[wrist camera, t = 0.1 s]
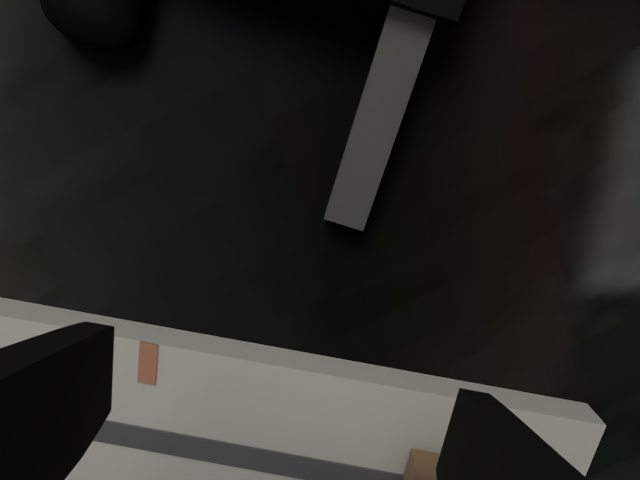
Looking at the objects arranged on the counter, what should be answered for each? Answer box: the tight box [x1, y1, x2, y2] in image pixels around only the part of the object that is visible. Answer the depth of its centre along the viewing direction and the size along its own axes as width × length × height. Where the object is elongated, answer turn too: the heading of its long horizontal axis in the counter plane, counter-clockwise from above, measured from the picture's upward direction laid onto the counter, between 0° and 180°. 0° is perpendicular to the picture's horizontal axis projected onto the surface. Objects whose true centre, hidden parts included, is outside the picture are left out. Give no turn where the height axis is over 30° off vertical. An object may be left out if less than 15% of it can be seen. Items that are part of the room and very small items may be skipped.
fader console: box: [0, 297, 606, 480], centre depth 20 cm, size 10×28×2 cm, turn 80°
